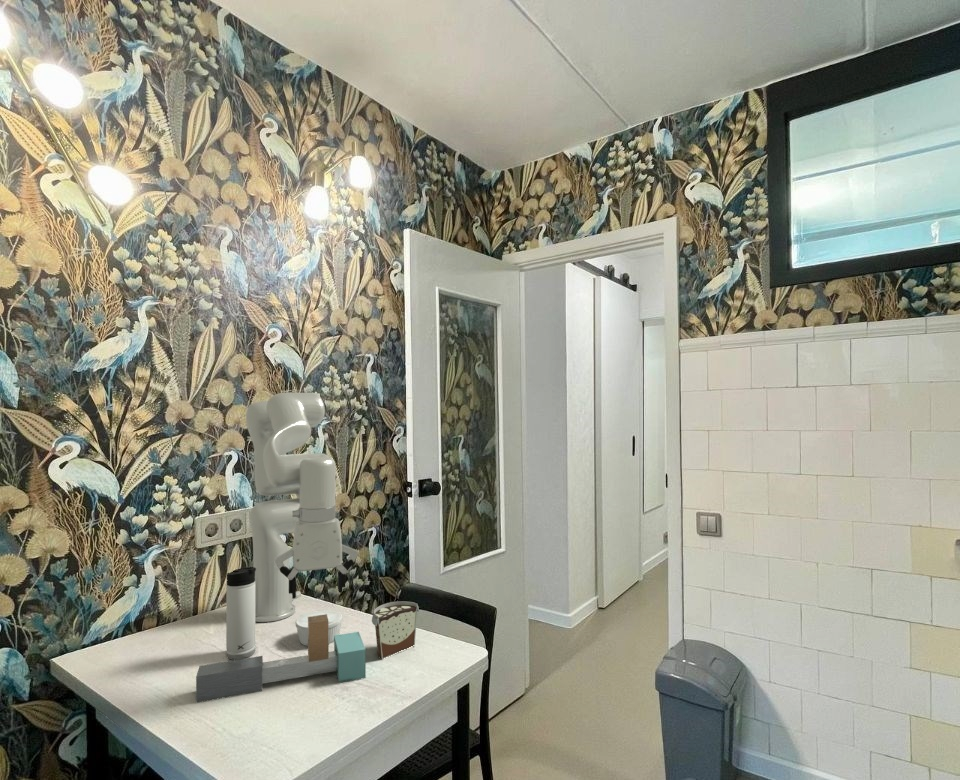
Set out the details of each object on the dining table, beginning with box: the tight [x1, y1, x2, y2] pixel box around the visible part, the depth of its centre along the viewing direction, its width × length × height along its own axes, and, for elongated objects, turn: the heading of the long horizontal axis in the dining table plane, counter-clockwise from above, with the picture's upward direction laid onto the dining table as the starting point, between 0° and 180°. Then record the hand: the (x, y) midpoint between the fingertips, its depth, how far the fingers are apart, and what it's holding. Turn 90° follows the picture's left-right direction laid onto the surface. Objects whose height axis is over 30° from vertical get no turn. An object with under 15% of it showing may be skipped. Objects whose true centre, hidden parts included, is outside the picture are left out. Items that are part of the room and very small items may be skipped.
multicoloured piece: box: [262, 614, 338, 685], centre depth 117 cm, size 19×4×11 cm, turn 110°
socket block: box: [333, 631, 367, 683], centre depth 120 cm, size 6×10×6 cm, turn 20°
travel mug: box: [225, 566, 256, 661], centre depth 129 cm, size 6×7×20 cm
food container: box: [371, 600, 420, 660], centre depth 131 cm, size 12×6×10 cm, turn 135°
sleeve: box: [195, 655, 264, 703], centre depth 112 cm, size 12×5×5 cm, turn 110°
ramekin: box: [295, 609, 343, 647], centre depth 137 cm, size 11×11×5 cm
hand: (317, 593), depth 119 cm, fingers open, 9 cm apart
